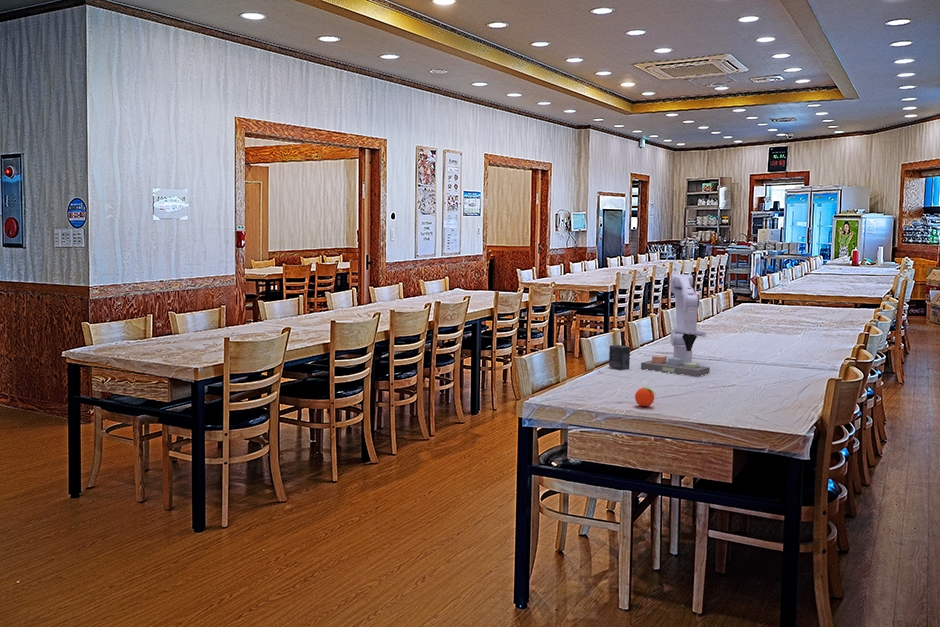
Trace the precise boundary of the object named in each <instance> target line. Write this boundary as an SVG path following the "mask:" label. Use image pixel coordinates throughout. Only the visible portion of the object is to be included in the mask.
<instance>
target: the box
mask: <svg viewBox="0 0 940 627" xmlns="http://www.w3.org/2000/svg"><path fill="white" fill-rule="evenodd" d="M608 354H609V355H608V367H609V366H610V367H612V368H611V369H614V368H616V369H615V370H620V369H621V371H623V370H622V369H626V370H630V362H631V360H630V357H631V346H629V345H628V346H627V345H620V344H611V345H609V353H608Z"/></svg>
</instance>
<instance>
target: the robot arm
mask: <svg viewBox="0 0 940 627" xmlns="http://www.w3.org/2000/svg"><path fill="white" fill-rule="evenodd" d="M669 281H670V282H669V283H670V284H669V285H670V292H671V294H674V298H675V299H674V301H675V314H676V316H675V319H676V321H675V322H676V326H675V327H673V329H672V330H671V332H670V345H671V346H673V356H672V357H675V358H683V362H682V364H685V363H693V362H692V361H693V349H692V348H693V346H694V343H695V341H696V339H697V338H698V337H702V338H704V337H706V333H707V332H705V331H698V330H697V324H698V323H697V322H698V308H699V307H700V297H699V294H696V292H695V289H694V288H693V284H694V275H693V274H685V273H684V274H683V273H682V274H679V273H676V274H675V273H672V274H671V275H670V280H669Z"/></svg>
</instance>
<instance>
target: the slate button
mask: <svg viewBox="0 0 940 627" xmlns="http://www.w3.org/2000/svg"><path fill="white" fill-rule="evenodd" d="M667 362H668V365H671V366H682V362H683V358H675V357H673V356H672V357H669V358H668V357H667Z"/></svg>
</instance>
